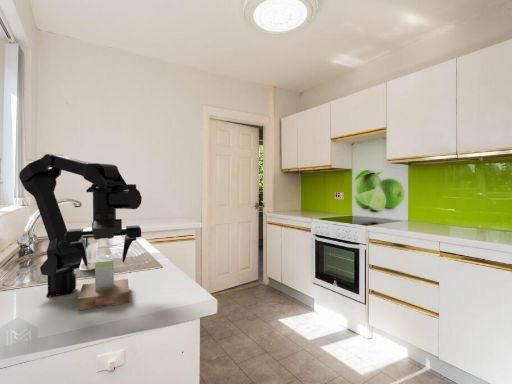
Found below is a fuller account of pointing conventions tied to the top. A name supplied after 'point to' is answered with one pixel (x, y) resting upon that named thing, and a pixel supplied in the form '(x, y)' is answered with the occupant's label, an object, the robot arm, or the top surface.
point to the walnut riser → (103, 295)
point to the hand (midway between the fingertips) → (105, 264)
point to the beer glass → (90, 252)
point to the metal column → (104, 274)
